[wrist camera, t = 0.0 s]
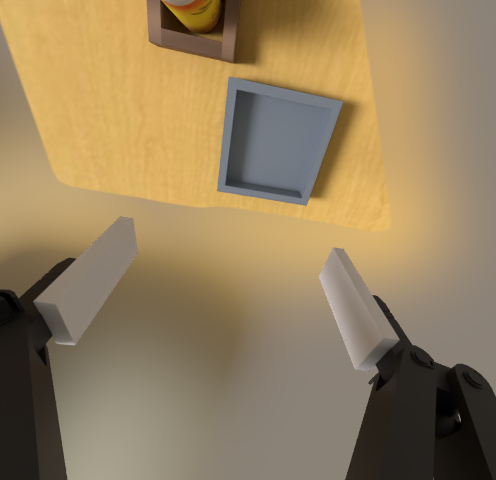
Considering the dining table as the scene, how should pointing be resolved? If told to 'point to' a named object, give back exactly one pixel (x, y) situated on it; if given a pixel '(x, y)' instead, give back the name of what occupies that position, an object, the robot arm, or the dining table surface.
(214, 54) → the collar holder
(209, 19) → the beer can
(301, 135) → the tray
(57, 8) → the dining table surface
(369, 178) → the dining table surface
